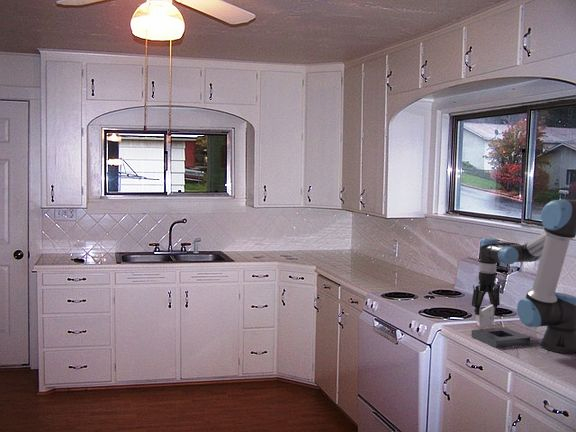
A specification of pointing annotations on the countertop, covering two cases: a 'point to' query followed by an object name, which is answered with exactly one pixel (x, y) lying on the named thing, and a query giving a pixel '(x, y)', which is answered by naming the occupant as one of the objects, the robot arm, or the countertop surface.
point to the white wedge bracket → (486, 316)
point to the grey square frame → (500, 337)
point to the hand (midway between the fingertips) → (484, 321)
